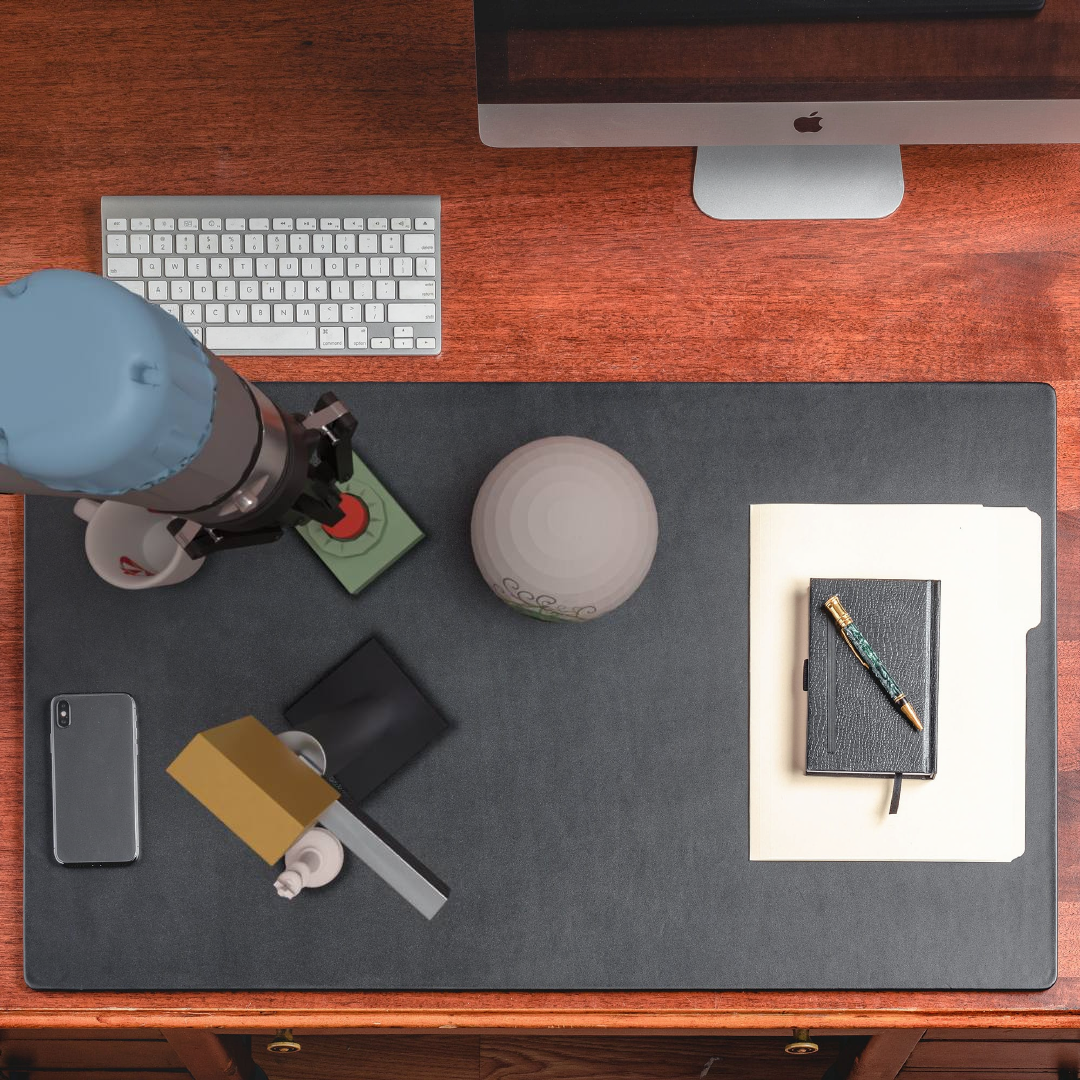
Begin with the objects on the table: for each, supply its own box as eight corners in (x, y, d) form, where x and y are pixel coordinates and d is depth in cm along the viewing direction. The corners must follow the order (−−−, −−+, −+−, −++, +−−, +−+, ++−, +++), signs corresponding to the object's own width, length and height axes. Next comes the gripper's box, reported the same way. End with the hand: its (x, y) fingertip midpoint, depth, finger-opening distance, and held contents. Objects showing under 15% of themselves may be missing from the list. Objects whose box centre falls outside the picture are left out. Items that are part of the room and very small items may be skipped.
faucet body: (288, 711, 77) (175, 755, 53) (376, 636, 77) (304, 645, 54) (361, 800, 76) (280, 885, 52) (449, 724, 77) (410, 773, 53)
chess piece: (311, 815, 76) (277, 844, 66) (355, 852, 76) (327, 887, 66) (274, 860, 76) (234, 897, 66) (318, 898, 76) (284, 940, 66)
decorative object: (448, 579, 78) (427, 570, 63) (520, 427, 79) (517, 383, 64) (603, 651, 77) (619, 659, 62) (673, 497, 79) (705, 469, 64)
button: (316, 515, 75) (311, 513, 73) (349, 488, 75) (344, 485, 73) (343, 547, 75) (338, 546, 73) (376, 520, 75) (372, 517, 73)
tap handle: (235, 741, 53) (164, 770, 43) (261, 710, 53) (198, 732, 43) (429, 915, 52) (404, 986, 42) (456, 883, 52) (437, 946, 42)
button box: (284, 509, 78) (270, 503, 74) (353, 451, 79) (344, 442, 75) (356, 594, 78) (346, 593, 74) (425, 535, 78) (419, 531, 74)
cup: (85, 550, 78) (34, 543, 70) (130, 472, 79) (84, 455, 71) (191, 607, 78) (151, 607, 70) (236, 528, 78) (202, 518, 70)
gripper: (162, 592, 44) (293, 600, 68) (363, 424, 45) (424, 490, 68) (69, 478, 44) (231, 526, 68) (270, 314, 45) (362, 417, 69)
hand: (328, 508), depth 68 cm, fingers closed
